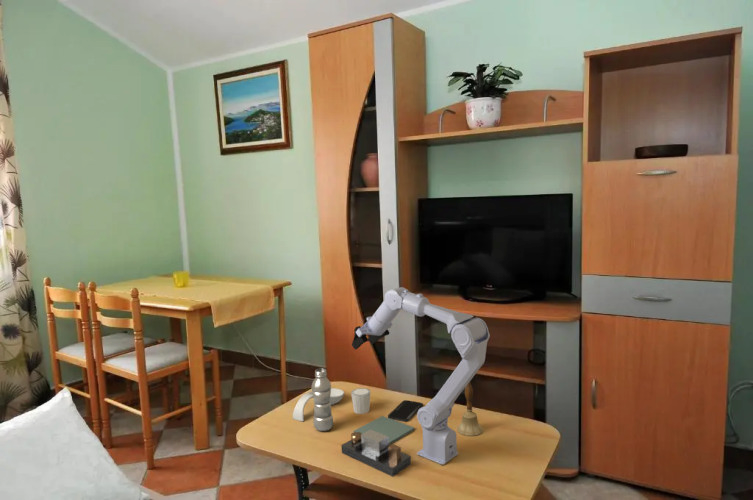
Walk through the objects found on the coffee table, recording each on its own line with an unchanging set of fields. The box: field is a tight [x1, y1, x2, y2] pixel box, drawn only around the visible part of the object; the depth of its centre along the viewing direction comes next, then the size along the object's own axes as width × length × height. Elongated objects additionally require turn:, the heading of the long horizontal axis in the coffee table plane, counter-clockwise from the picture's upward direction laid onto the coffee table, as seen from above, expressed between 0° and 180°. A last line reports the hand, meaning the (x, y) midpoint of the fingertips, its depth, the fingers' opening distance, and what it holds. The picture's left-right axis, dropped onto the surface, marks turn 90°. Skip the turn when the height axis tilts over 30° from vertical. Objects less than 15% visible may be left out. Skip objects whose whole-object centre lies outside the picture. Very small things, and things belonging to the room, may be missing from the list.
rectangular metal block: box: [361, 430, 390, 455], centre depth 144 cm, size 7×4×4 cm, turn 48°
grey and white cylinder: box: [350, 388, 371, 415], centre depth 177 cm, size 7×7×7 cm
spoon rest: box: [292, 387, 345, 422], centre depth 180 cm, size 24×12×7 cm, turn 149°
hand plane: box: [341, 431, 412, 478], centre depth 144 cm, size 20×8×6 cm, turn 48°
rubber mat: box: [353, 415, 416, 446], centre depth 161 cm, size 14×14×1 cm
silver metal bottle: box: [310, 368, 334, 432], centre depth 163 cm, size 6×7×20 cm
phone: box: [387, 399, 424, 423], centre depth 175 cm, size 8×1×15 cm
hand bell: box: [456, 381, 484, 437], centre depth 159 cm, size 8×8×16 cm
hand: (362, 344), depth 160 cm, fingers open, 7 cm apart
